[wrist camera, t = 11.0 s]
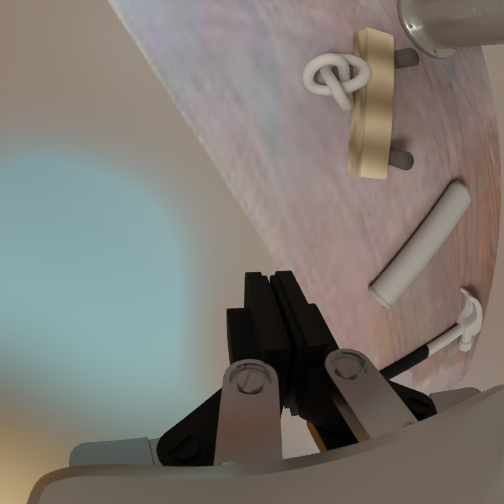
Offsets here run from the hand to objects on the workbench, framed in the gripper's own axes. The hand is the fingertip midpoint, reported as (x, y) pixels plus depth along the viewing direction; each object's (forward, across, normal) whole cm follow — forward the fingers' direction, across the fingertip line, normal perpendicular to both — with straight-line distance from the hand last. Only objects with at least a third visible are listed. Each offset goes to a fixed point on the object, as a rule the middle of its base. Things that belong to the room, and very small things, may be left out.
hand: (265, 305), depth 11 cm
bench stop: (+27, -19, -11) cm, 35 cm away
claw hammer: (+28, -46, +35) cm, 64 cm away
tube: (+28, -32, +9) cm, 43 cm away
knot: (+27, -13, -13) cm, 33 cm away
